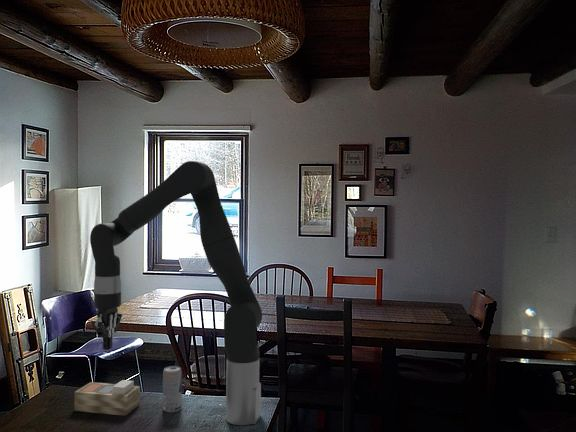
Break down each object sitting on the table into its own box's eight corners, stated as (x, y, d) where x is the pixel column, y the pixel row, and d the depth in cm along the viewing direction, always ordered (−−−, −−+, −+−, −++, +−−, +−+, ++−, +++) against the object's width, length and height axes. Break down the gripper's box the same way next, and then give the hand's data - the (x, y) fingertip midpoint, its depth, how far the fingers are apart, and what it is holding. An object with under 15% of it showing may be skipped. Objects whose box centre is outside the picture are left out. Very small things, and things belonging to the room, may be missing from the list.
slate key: (118, 396, 151) (118, 386, 151) (108, 403, 146) (108, 393, 146) (107, 395, 152) (107, 385, 152) (96, 402, 146) (96, 392, 146)
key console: (139, 404, 151) (139, 386, 151) (125, 415, 143) (126, 396, 143) (90, 399, 154) (90, 382, 154) (74, 410, 146) (74, 392, 146)
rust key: (102, 394, 152) (102, 384, 152) (92, 401, 147) (92, 391, 146) (92, 393, 153) (92, 383, 153) (81, 400, 147) (81, 390, 147)
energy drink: (182, 405, 151) (183, 365, 151) (179, 412, 146) (179, 371, 145) (164, 405, 151) (165, 365, 151) (161, 412, 146) (161, 371, 145)
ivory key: (133, 390, 150) (133, 380, 150) (124, 397, 145) (124, 387, 145) (122, 389, 151) (122, 379, 151) (112, 396, 145) (112, 386, 145)
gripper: (107, 295, 141) (107, 356, 141) (130, 287, 154) (130, 343, 154) (83, 294, 142) (83, 355, 143) (107, 286, 155) (108, 342, 156)
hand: (107, 349), depth 149 cm, fingers closed
